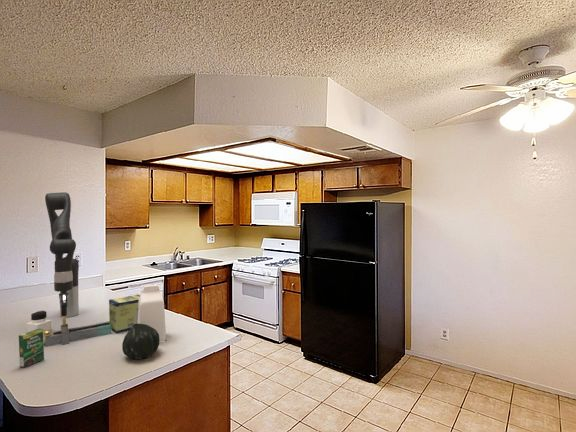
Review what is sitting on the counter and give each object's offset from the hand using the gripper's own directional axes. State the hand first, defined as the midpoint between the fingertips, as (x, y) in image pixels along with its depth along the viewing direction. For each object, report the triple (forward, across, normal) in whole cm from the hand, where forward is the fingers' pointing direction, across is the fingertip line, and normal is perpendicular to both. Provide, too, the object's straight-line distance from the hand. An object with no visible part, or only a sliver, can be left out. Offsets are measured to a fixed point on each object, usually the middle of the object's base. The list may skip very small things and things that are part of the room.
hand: (64, 315), depth 164 cm
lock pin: (+9, 0, 0) cm, 9 cm away
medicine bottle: (+11, -10, -10) cm, 18 cm away
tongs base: (+11, +4, +5) cm, 13 cm away
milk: (+11, +27, +34) cm, 45 cm away
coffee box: (+11, +25, -12) cm, 30 cm away
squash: (+11, +43, +26) cm, 51 cm away
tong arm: (+10, +2, +8) cm, 13 cm away
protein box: (+11, +3, +28) cm, 30 cm away
